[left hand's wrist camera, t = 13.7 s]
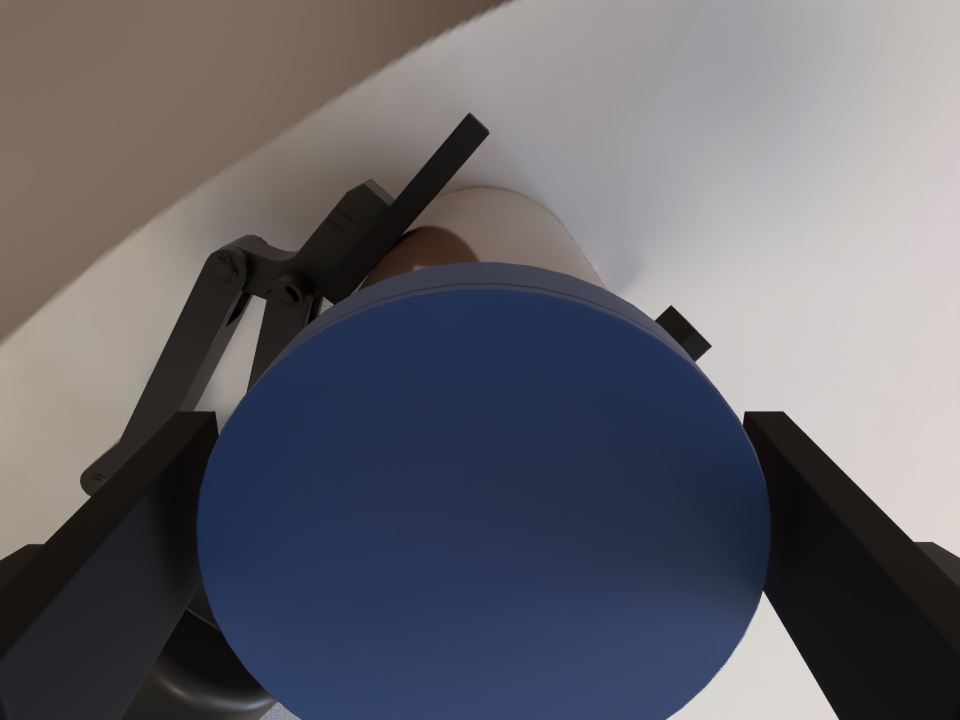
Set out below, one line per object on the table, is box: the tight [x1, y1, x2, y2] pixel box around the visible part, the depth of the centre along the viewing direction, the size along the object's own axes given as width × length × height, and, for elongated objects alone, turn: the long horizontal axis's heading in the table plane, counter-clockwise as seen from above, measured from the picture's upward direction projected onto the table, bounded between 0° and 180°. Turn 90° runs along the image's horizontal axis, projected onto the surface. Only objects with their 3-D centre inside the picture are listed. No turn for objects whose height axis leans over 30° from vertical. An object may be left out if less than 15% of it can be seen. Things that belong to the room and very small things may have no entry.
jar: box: [358, 188, 610, 292], centre depth 19 cm, size 8×8×17 cm
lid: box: [196, 262, 771, 720], centre depth 12 cm, size 9×9×2 cm
